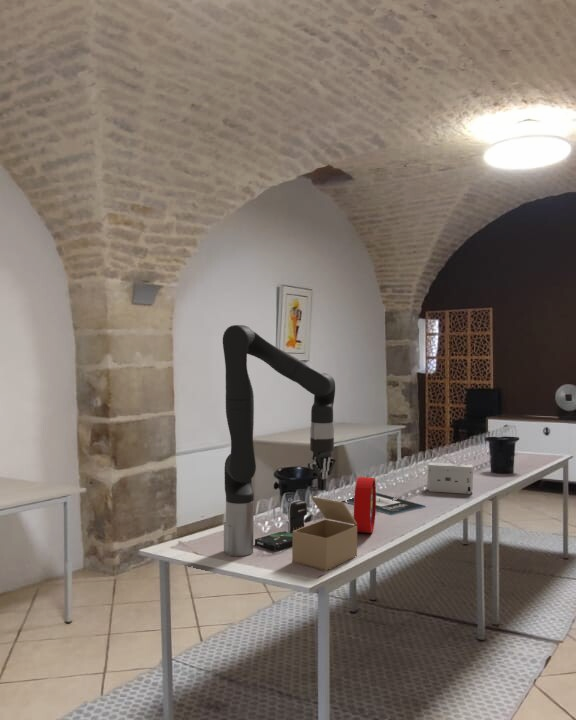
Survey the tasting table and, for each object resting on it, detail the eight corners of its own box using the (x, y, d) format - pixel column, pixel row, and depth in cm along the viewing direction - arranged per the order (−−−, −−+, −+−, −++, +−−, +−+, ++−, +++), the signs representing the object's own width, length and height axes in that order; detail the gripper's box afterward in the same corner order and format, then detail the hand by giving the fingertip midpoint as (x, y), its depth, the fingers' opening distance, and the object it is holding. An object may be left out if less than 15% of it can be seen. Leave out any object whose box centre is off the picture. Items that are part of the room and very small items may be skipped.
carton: (326, 570, 204) (326, 538, 204) (292, 562, 212) (292, 530, 212) (356, 556, 219) (357, 525, 219) (323, 548, 227) (324, 519, 226)
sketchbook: (391, 516, 272) (391, 511, 272) (340, 502, 295) (340, 497, 295) (425, 508, 285) (425, 503, 285) (374, 495, 308) (374, 490, 308)
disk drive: (275, 554, 222) (305, 543, 233) (275, 545, 222) (305, 536, 233) (254, 547, 230) (284, 537, 240) (254, 539, 229) (284, 529, 240)
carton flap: (342, 503, 212) (343, 502, 212) (311, 498, 219) (312, 496, 220) (356, 524, 219) (357, 523, 219) (325, 518, 226) (326, 517, 227)
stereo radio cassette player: (472, 491, 317) (473, 449, 316) (472, 495, 309) (473, 452, 308) (427, 488, 322) (428, 447, 321) (426, 492, 314) (427, 450, 313)
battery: (294, 535, 242) (295, 504, 241) (287, 533, 244) (287, 502, 244) (308, 531, 247) (308, 500, 246) (300, 529, 249) (301, 499, 249)
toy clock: (369, 539, 237) (370, 483, 237) (353, 538, 239) (354, 482, 238) (375, 524, 257) (376, 473, 256) (360, 523, 258) (361, 472, 257)
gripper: (323, 432, 220) (323, 485, 221) (300, 437, 210) (300, 492, 210) (343, 434, 216) (342, 488, 216) (320, 439, 205) (319, 495, 206)
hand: (321, 490), depth 213 cm, fingers closed
